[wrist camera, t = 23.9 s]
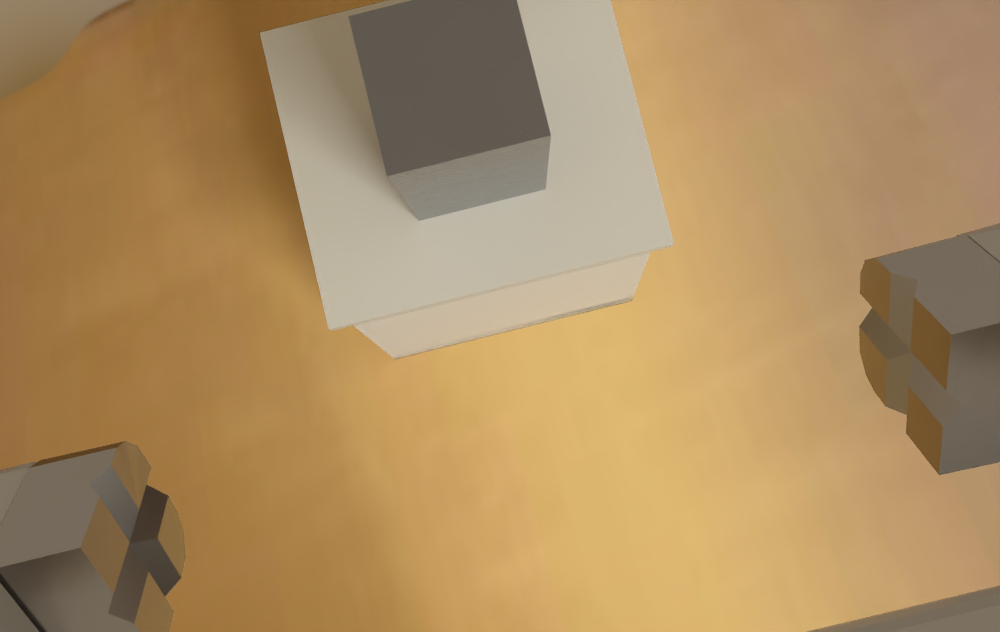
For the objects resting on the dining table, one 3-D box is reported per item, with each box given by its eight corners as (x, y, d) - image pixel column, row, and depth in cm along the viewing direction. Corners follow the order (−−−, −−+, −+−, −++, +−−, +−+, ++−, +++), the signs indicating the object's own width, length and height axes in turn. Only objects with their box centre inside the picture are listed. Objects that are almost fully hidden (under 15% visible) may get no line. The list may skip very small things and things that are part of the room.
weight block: (514, 65, 35) (510, -26, 27) (545, 189, 34) (551, 135, 26) (389, 97, 35) (348, 16, 27) (419, 220, 34) (386, 176, 26)
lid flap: (595, -44, 36) (597, -53, 35) (670, 247, 35) (674, 244, 34) (265, 40, 36) (259, 32, 35) (333, 330, 35) (328, 329, 34)
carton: (571, 78, 46) (574, -19, 38) (632, 300, 44) (651, 253, 35) (345, 134, 47) (295, 51, 38) (393, 359, 44) (353, 326, 35)
